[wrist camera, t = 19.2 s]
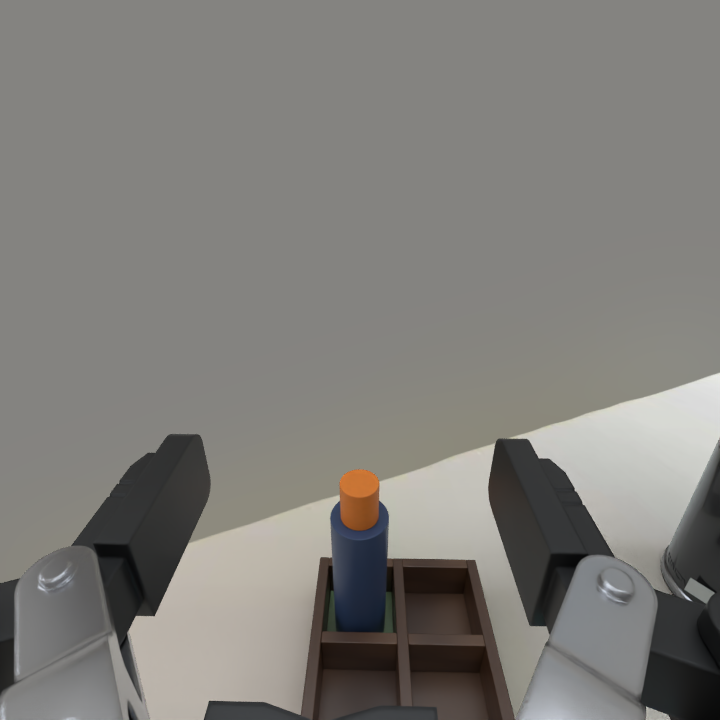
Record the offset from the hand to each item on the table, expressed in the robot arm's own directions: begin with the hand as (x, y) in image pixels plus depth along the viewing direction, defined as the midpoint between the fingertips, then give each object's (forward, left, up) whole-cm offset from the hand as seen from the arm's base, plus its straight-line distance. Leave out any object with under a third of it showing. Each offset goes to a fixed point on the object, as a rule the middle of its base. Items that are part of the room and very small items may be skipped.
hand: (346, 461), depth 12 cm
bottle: (0, -12, -27) cm, 30 cm away
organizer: (-3, -9, -28) cm, 29 cm away
